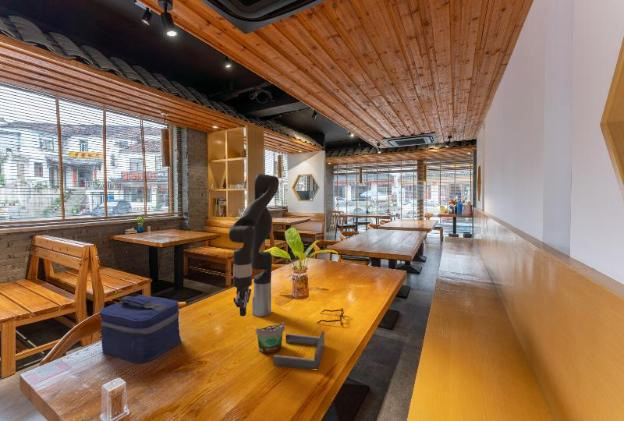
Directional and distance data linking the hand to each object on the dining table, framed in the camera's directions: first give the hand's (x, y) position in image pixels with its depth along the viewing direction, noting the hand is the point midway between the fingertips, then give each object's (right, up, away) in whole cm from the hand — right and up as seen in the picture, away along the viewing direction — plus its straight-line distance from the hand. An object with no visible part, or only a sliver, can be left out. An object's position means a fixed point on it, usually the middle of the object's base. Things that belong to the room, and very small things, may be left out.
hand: (243, 315), depth 114 cm
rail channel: (+24, -14, -4) cm, 28 cm away
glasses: (+38, -13, +28) cm, 49 cm away
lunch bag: (-43, -14, +2) cm, 45 cm away
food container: (+12, -14, -1) cm, 19 cm away
